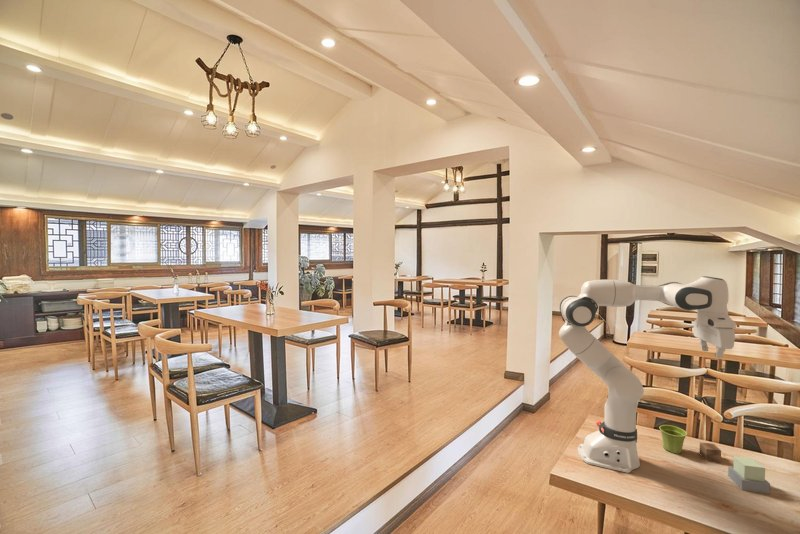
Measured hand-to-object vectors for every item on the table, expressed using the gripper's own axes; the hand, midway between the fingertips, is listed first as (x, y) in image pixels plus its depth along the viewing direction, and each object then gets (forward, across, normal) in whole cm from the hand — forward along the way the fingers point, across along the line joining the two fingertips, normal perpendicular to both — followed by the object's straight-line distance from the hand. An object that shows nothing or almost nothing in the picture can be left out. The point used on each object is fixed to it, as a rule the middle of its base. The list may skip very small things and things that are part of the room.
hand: (711, 354), depth 136 cm
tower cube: (+42, +7, +9) cm, 44 cm away
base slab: (+46, +7, +9) cm, 48 cm away
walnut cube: (+46, -9, +5) cm, 47 cm away
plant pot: (+46, -12, -7) cm, 48 cm away
